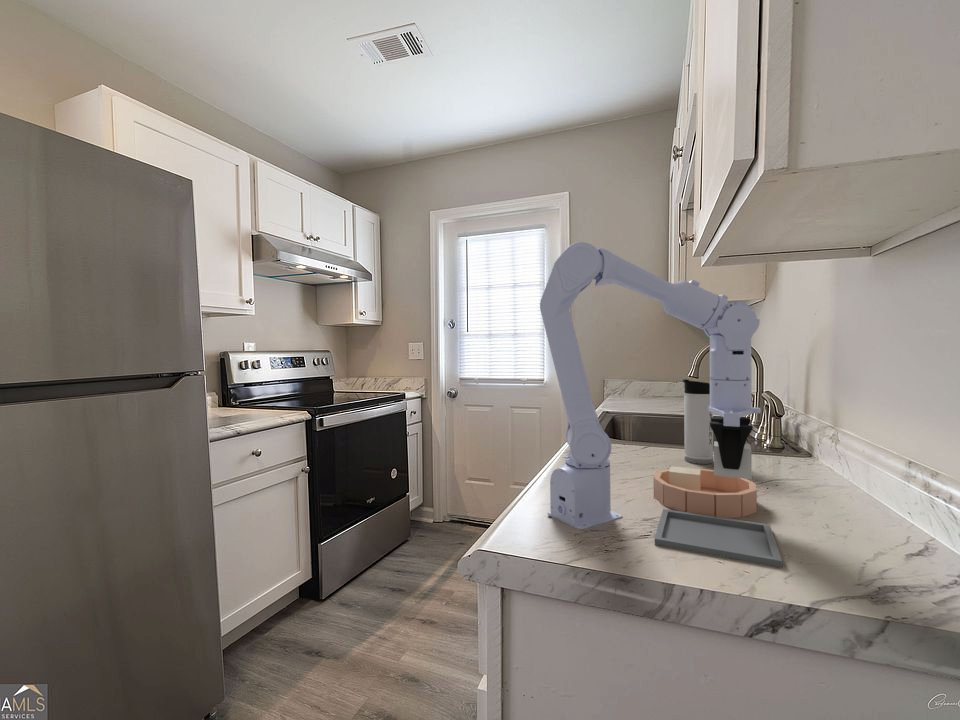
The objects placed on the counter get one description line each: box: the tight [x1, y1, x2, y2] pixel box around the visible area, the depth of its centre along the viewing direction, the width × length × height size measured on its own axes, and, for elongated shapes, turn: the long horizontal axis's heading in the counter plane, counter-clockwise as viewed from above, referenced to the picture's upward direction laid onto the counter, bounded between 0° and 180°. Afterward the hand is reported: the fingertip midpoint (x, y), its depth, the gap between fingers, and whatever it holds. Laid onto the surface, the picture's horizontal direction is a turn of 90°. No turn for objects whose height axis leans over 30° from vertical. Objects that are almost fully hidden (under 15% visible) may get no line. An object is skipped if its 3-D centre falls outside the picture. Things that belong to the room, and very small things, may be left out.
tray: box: [654, 508, 783, 569], centre depth 62 cm, size 13×15×1 cm
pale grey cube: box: [713, 440, 753, 480], centre depth 69 cm, size 5×4×5 cm
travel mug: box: [682, 379, 714, 465], centre depth 106 cm, size 6×7×20 cm
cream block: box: [669, 465, 702, 491], centre depth 79 cm, size 5×4×5 cm
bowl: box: [653, 467, 758, 518], centre depth 77 cm, size 16×16×4 cm
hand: (730, 465), depth 69 cm, fingers closed on pale grey cube, 4 cm apart
